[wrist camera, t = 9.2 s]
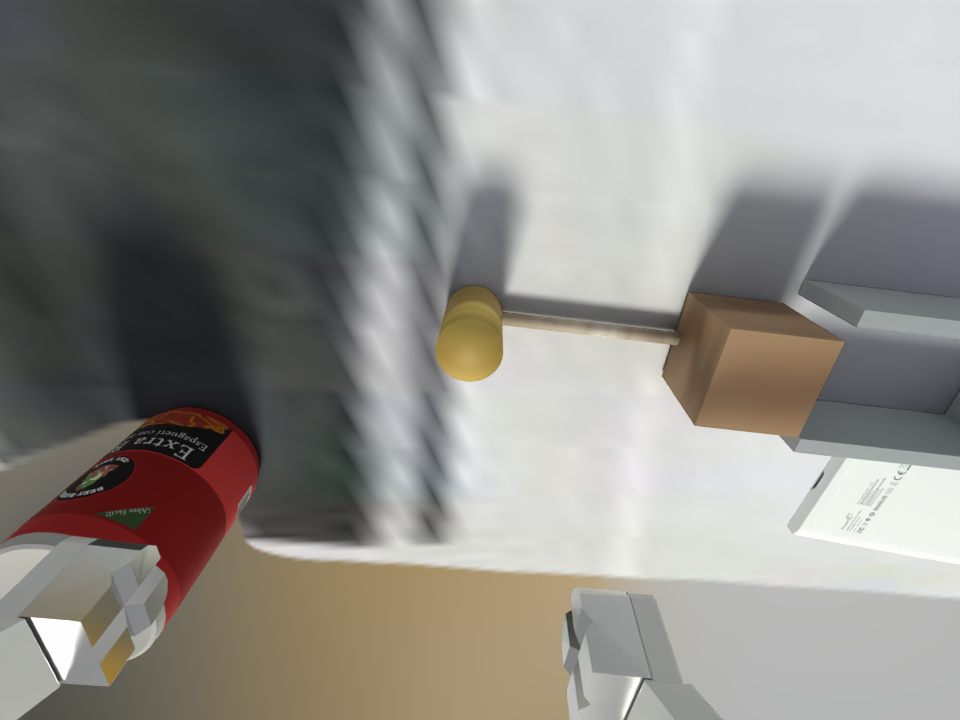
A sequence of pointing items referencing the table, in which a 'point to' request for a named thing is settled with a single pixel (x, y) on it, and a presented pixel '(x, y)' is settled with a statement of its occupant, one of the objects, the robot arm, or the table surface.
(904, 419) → the lane
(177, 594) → the canned food
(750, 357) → the towed block
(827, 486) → the external hard drive
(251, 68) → the table surface
